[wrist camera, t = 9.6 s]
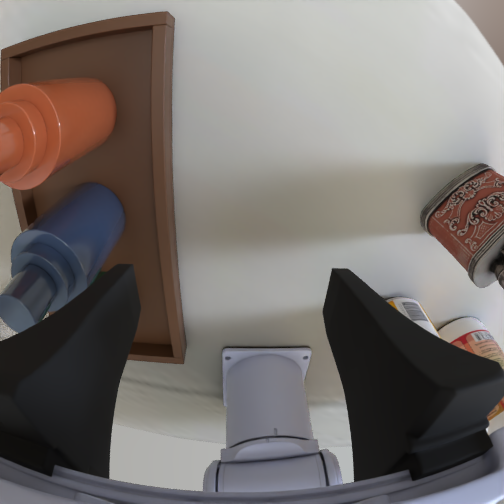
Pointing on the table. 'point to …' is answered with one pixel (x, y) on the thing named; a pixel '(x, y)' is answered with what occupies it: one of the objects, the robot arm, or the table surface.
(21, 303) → the slate-blue bottle
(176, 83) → the table surface
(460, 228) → the lighter
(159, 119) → the tray
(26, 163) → the terracotta bottle
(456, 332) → the fruit juice
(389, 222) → the table surface
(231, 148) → the table surface
